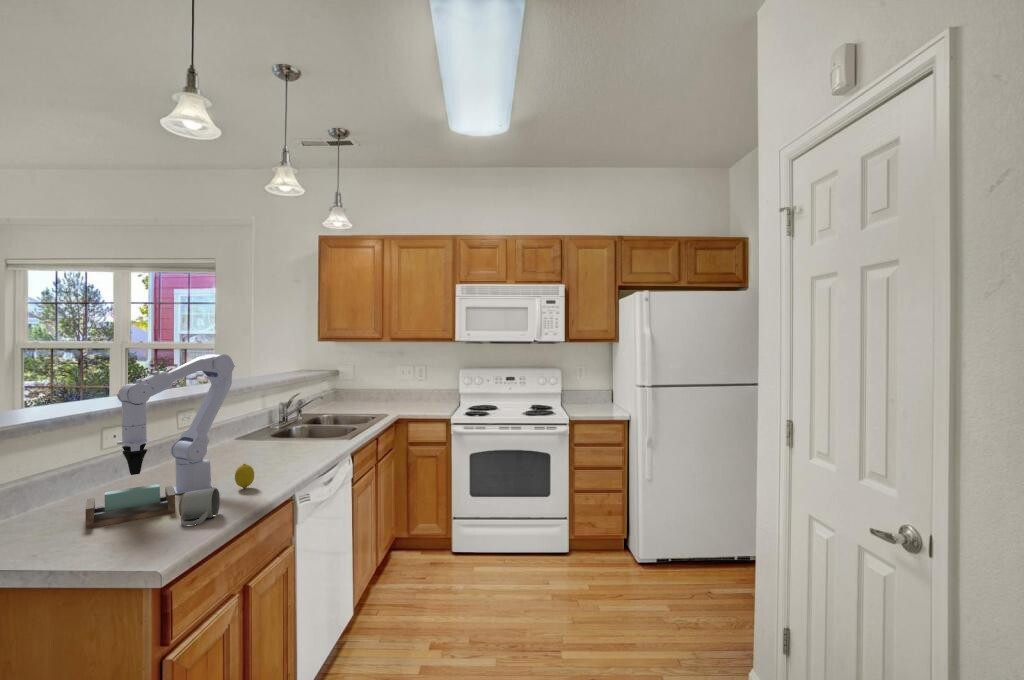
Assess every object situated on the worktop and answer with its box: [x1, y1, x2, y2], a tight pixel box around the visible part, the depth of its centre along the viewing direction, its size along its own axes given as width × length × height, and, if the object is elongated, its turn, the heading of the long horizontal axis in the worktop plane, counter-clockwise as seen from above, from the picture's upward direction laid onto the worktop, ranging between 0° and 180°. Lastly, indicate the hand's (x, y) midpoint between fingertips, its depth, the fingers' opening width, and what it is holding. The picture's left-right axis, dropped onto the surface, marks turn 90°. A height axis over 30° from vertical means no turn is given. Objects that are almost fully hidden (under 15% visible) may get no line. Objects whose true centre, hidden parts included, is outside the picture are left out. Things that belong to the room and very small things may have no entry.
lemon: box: [234, 463, 255, 489], centre depth 161 cm, size 6×6×8 cm
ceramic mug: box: [178, 487, 221, 526], centre depth 134 cm, size 11×8×8 cm
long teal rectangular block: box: [104, 483, 161, 511], centre depth 138 cm, size 12×3×6 cm, turn 128°
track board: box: [85, 485, 176, 529], centre depth 138 cm, size 19×10×5 cm, turn 128°
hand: (134, 471), depth 147 cm, fingers open, 7 cm apart
